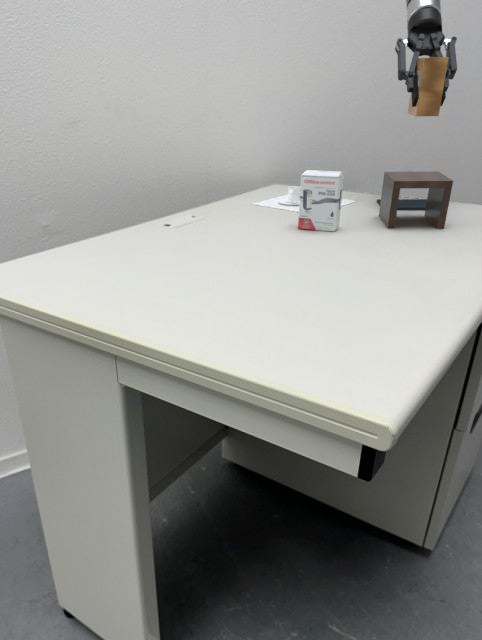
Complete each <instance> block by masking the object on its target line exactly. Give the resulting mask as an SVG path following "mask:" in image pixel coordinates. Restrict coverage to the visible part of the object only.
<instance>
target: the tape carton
mask: <svg viewBox="0 0 482 640" xmlns="http://www.w3.org/2000/svg"><path fill="white" fill-rule="evenodd" d="M448 58H449V57H446V56H443V57H432V58H430V57H418V58H417V64H416V68H415V71H414V74H418V92H419V99H418V101H417V104H416V107H412V94H411V93H410V95H409V101H408V108H407V114H408V115H411V116H414V117H439V115H440V111H441V106H440V105H441V99H442V93H443V88H444V82H445V76H446V70H447V64H448Z"/></svg>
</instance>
